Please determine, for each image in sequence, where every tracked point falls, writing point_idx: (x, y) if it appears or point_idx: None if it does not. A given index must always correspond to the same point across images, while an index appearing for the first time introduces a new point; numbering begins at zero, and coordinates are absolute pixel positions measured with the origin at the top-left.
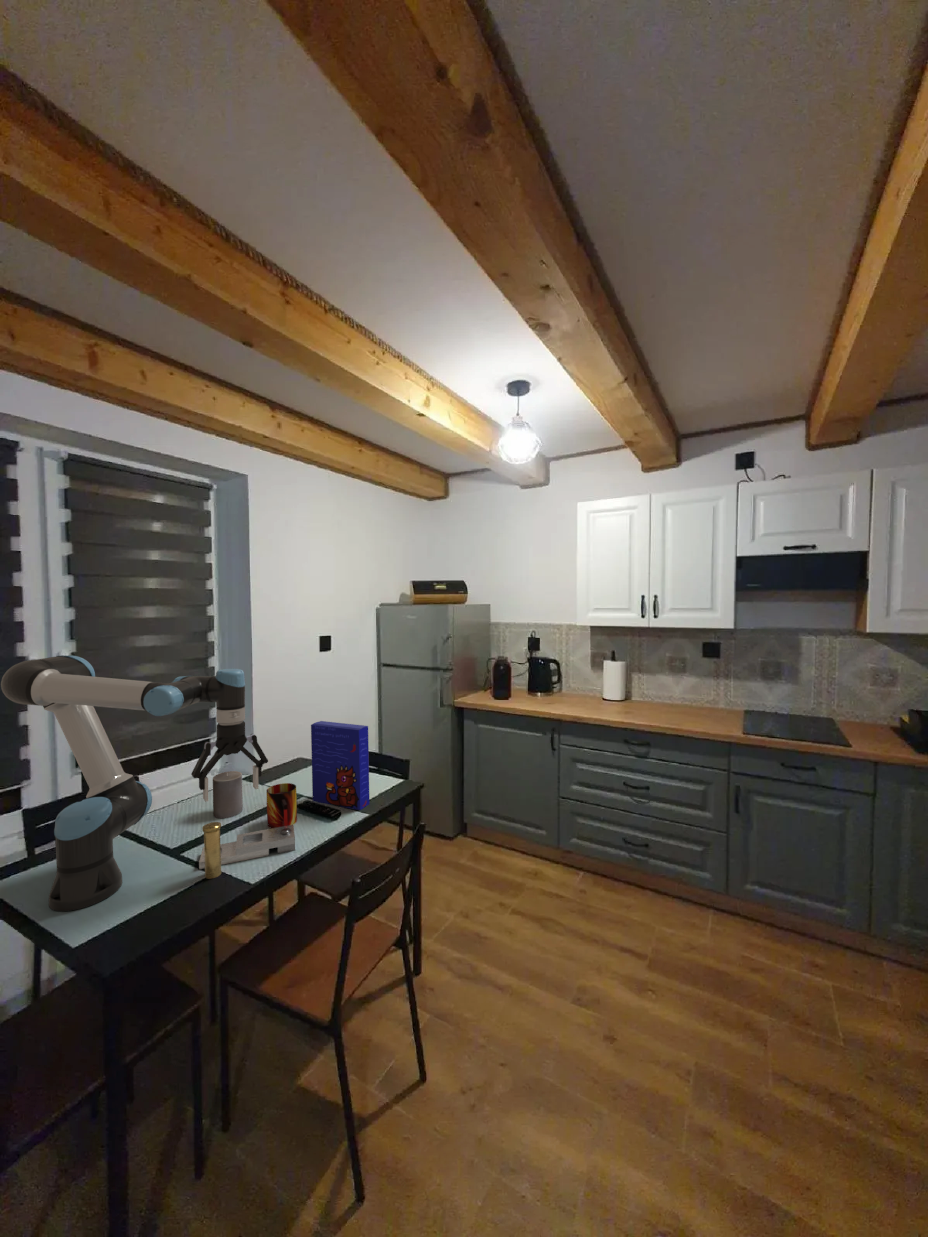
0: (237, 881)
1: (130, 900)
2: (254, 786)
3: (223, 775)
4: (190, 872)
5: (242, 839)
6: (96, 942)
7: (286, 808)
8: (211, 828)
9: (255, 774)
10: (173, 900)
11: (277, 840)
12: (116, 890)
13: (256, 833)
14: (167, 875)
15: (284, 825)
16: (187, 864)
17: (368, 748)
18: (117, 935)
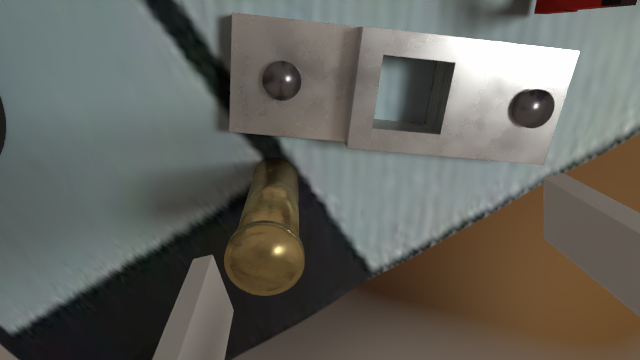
0: (338, 243)
1: (68, 206)
2: (552, 219)
3: None
4: (208, 130)
5: (377, 83)
6: (53, 335)
7: (616, 6)
8: (264, 288)
9: (637, 310)
10: (184, 256)
11: (486, 158)
12: (2, 143)
13: (433, 57)
14: (138, 113)
15: (549, 10)
16: (190, 68)
17: None
18: (90, 331)
